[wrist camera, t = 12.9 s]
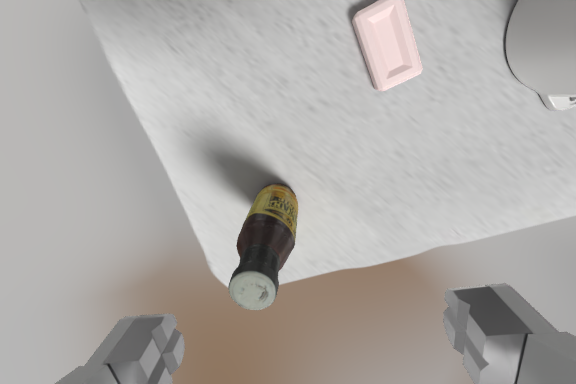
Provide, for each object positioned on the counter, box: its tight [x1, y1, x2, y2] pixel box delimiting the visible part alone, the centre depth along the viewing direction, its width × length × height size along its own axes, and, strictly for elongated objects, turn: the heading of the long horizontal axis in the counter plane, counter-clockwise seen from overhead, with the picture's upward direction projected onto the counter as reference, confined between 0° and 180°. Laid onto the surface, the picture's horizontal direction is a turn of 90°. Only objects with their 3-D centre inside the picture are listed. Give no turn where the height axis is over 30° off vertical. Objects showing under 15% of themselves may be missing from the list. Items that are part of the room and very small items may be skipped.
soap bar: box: [352, 0, 423, 91], centre depth 32 cm, size 5×9×2 cm, turn 25°
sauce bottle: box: [229, 184, 298, 310], centre depth 32 cm, size 7×6×20 cm
